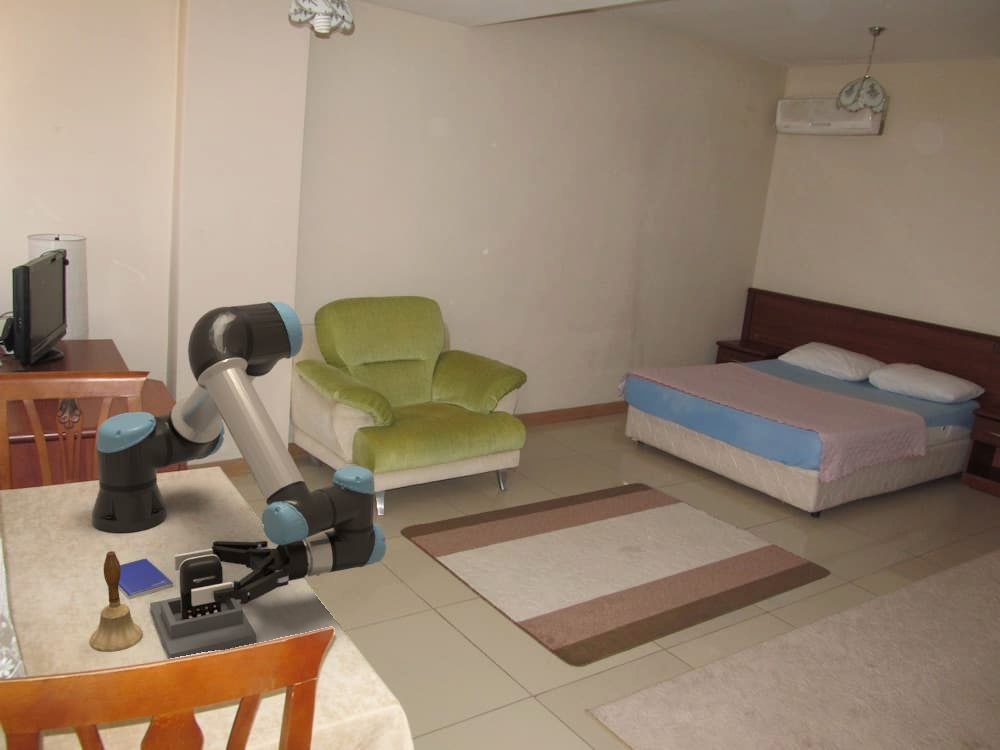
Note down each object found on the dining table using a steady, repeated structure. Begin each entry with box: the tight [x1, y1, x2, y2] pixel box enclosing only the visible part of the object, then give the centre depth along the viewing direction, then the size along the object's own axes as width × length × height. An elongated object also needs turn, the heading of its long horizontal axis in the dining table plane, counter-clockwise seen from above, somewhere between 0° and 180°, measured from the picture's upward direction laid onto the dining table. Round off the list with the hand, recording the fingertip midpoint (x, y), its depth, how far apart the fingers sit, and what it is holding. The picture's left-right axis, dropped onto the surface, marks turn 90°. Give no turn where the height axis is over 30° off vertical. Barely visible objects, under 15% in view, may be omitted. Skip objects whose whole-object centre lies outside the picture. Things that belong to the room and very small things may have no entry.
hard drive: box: [118, 558, 174, 600], centre depth 163 cm, size 2×8×12 cm
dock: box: [149, 596, 257, 659], centre depth 149 cm, size 18×14×4 cm
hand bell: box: [89, 551, 144, 652], centre depth 142 cm, size 8×8×16 cm
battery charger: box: [178, 554, 224, 620], centre depth 148 cm, size 7×4×11 cm, turn 121°
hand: (182, 579), depth 146 cm, fingers open, 13 cm apart
